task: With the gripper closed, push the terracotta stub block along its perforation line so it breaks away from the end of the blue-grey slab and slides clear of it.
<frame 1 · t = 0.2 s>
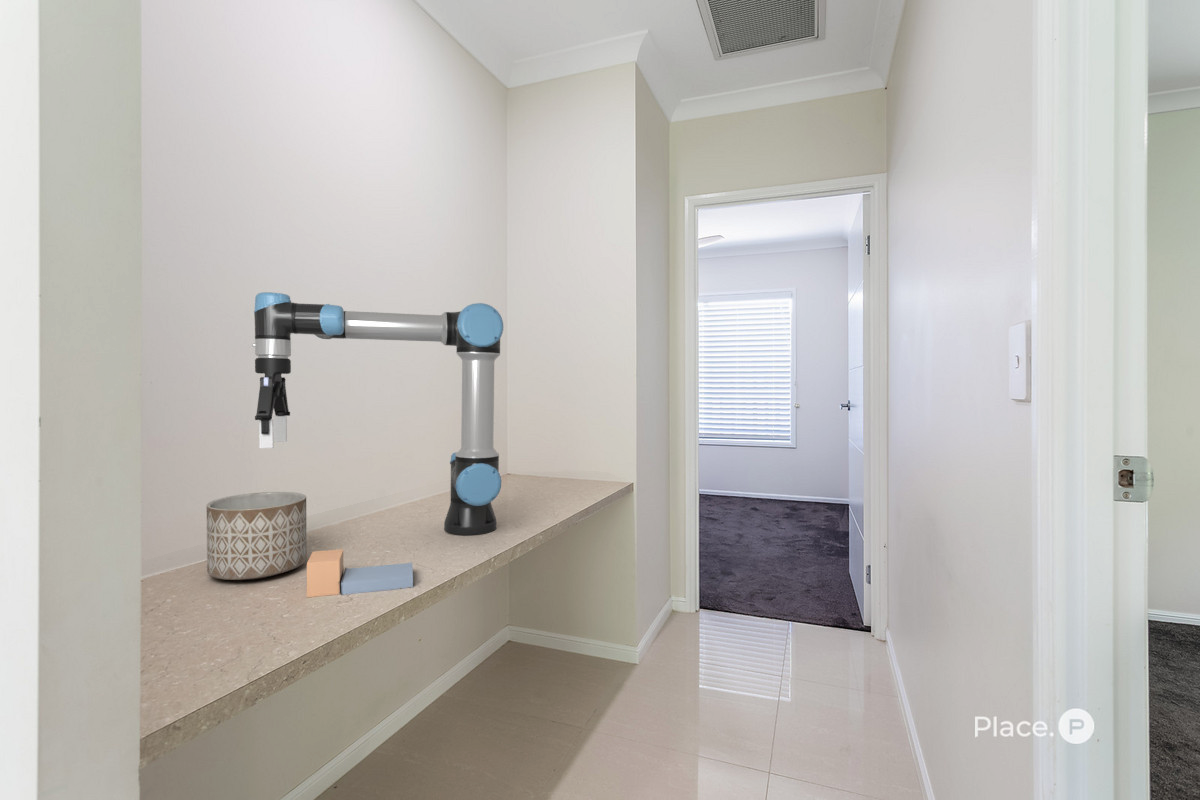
hand: (273, 444, 138), 28 cm above the countertop, fingers open, 13 cm apart
blue-grey slab: (378, 583, 122), on the countertop
stub: (325, 572, 118), point 4 cm above the countertop, slide at 0.0 cm
planter: (258, 572, 129), on the countertop
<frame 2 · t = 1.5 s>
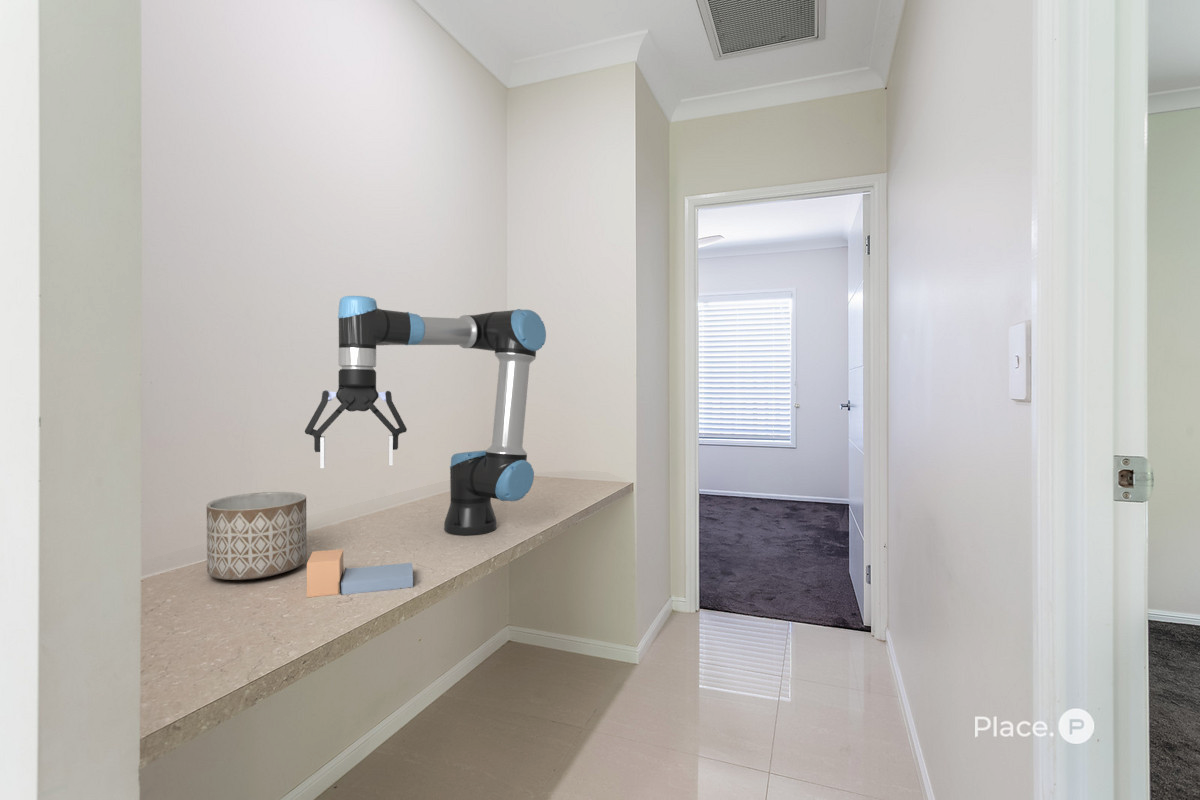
hand: (357, 466, 123), 25 cm above the countertop, fingers open, 13 cm apart
nothing on the countertop moved.
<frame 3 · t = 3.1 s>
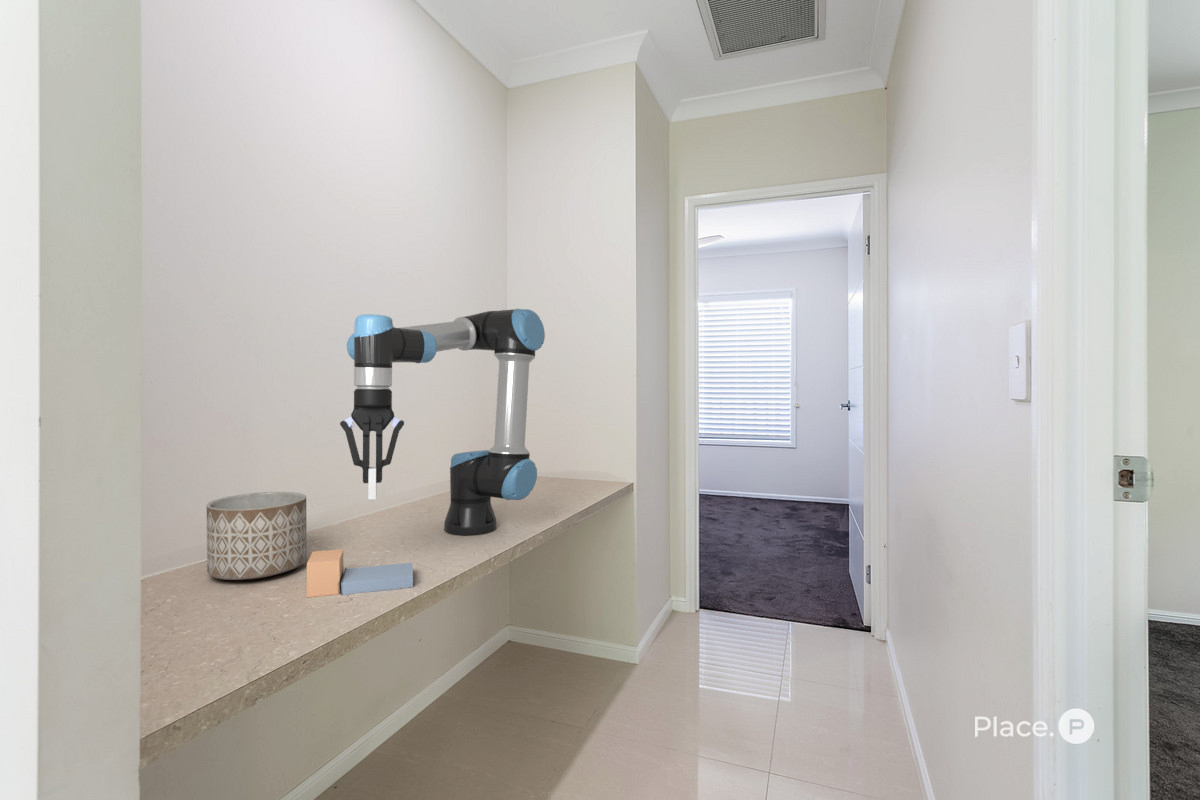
hand: (372, 498, 121), 19 cm above the countertop, fingers closed
nothing on the countertop moved.
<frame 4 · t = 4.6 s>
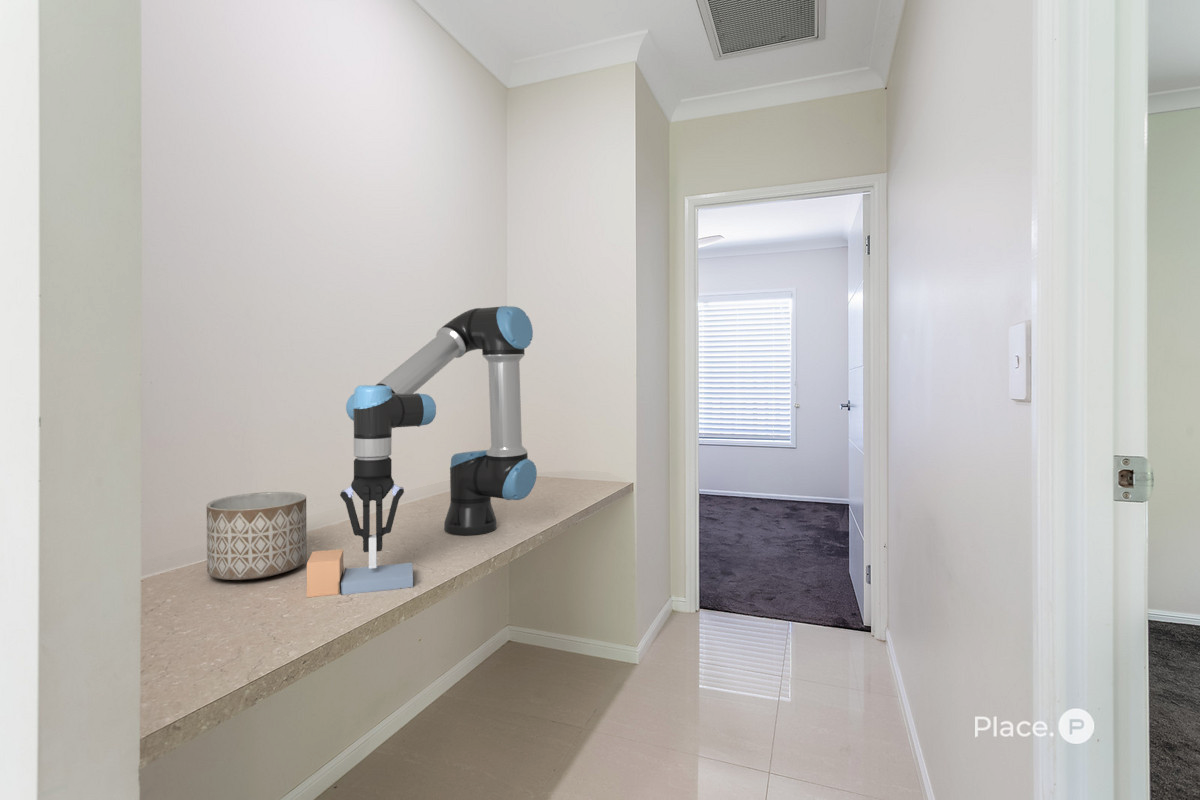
hand: (372, 566, 121), 4 cm above the countertop, fingers closed
nothing on the countertop moved.
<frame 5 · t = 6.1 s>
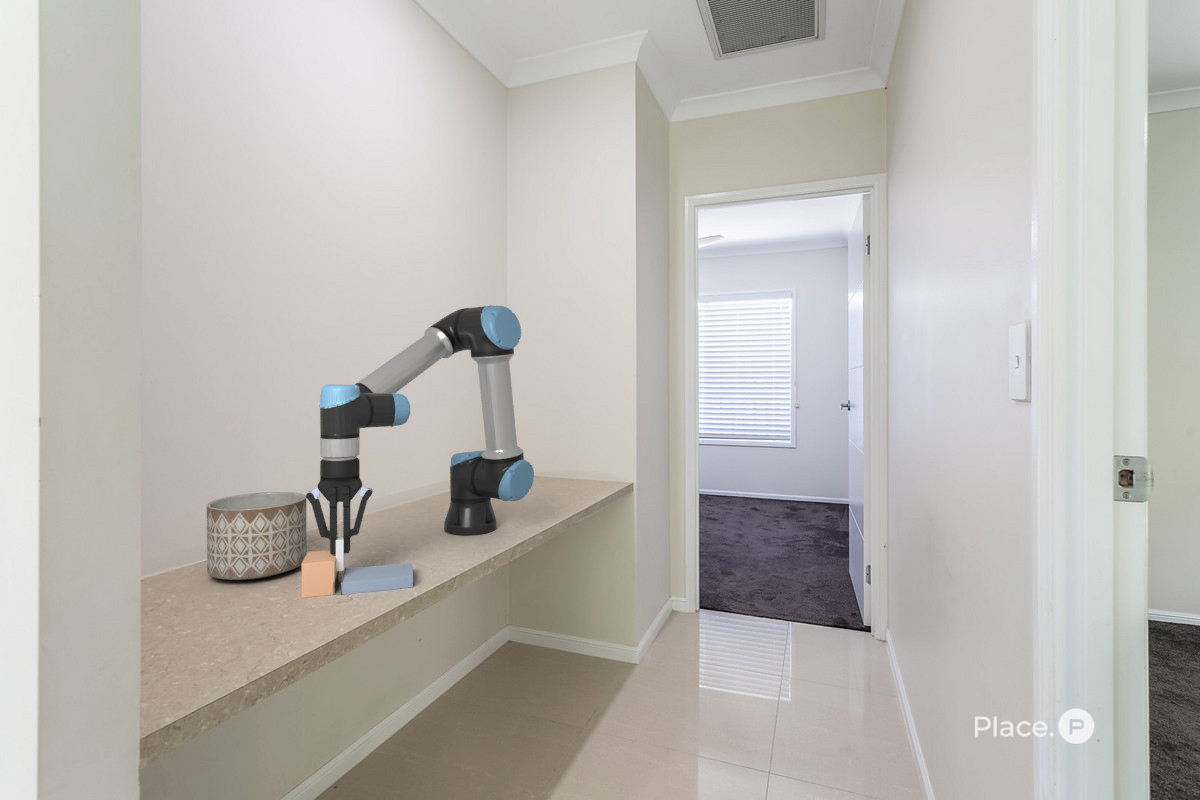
hand: (340, 568, 119), 4 cm above the countertop, fingers closed
stub: (320, 572, 118), point 3 cm above the countertop, slide at 1.0 cm, touching gripper
everything else where it was.
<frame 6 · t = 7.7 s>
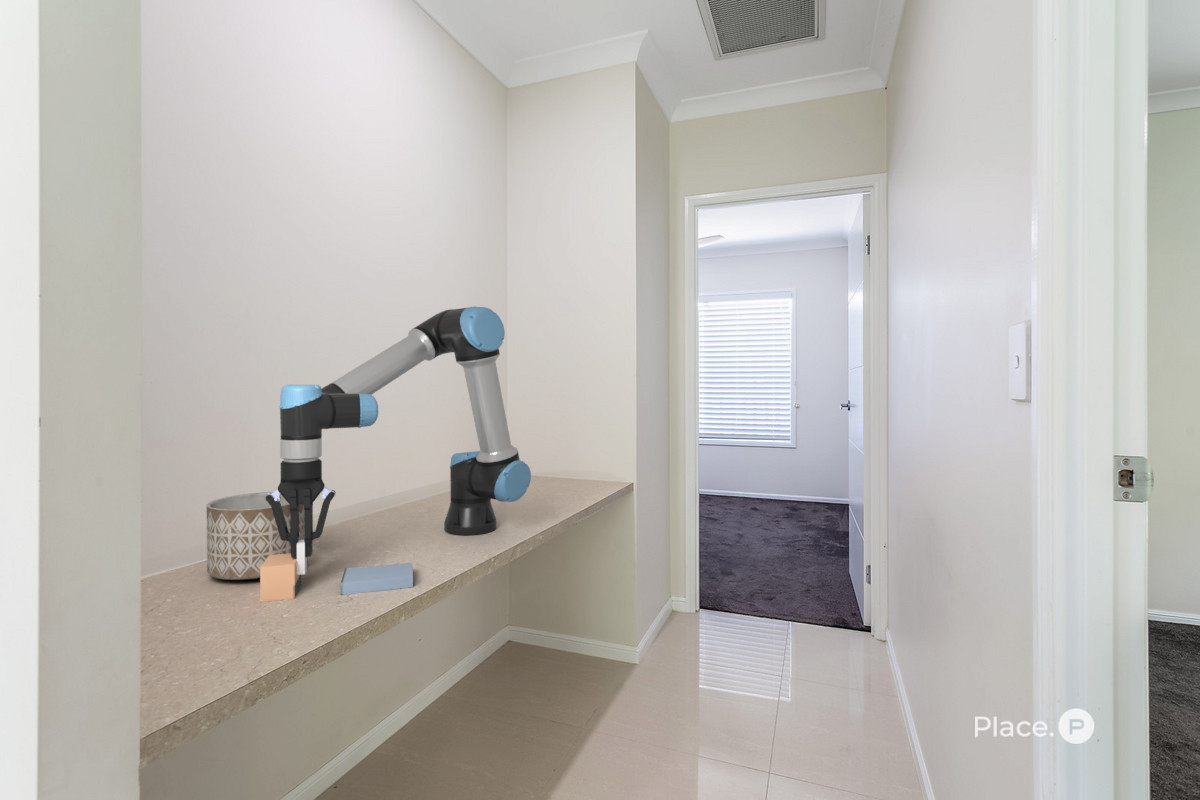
hand: (301, 572, 117), 4 cm above the countertop, fingers closed
stub: (281, 576, 116), point 4 cm above the countertop, slide at 8.2 cm, touching gripper
everything else where it was.
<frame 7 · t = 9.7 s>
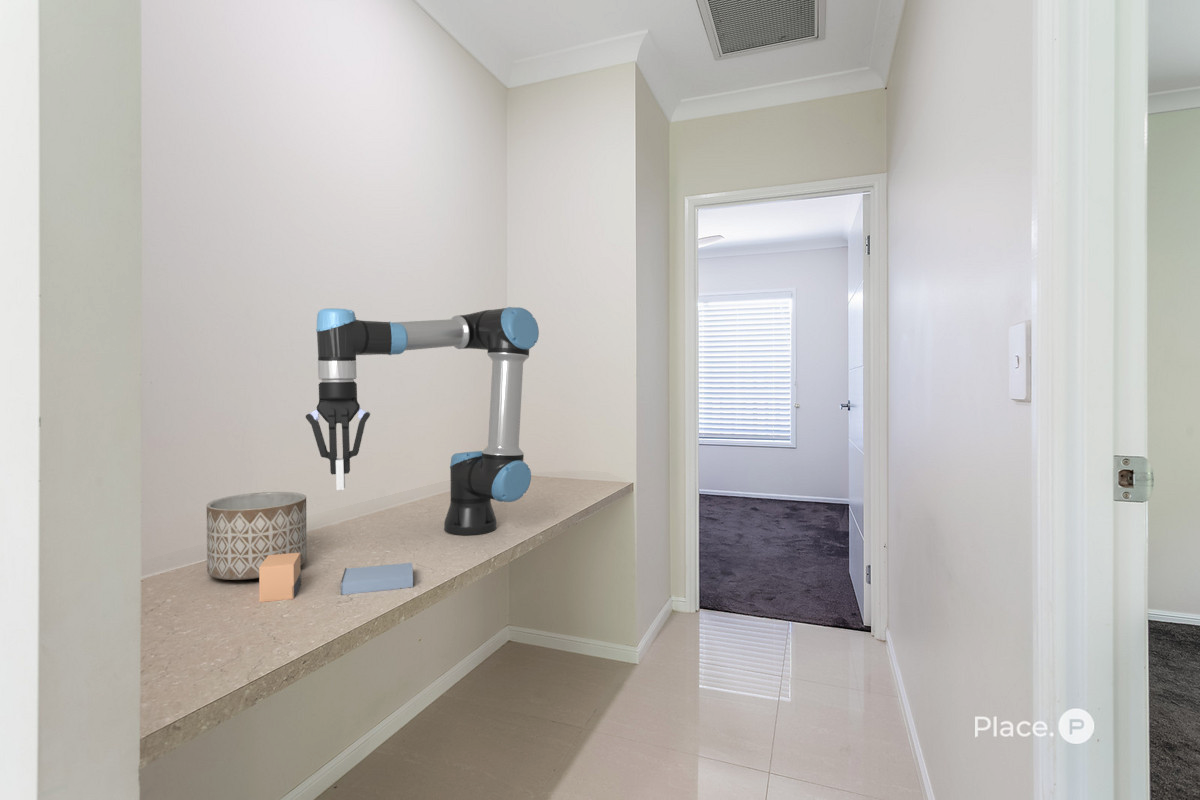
hand: (340, 488, 123), 20 cm above the countertop, fingers closed
stub: (280, 576, 116), point 4 cm above the countertop, slide at 8.4 cm
everything else where it was.
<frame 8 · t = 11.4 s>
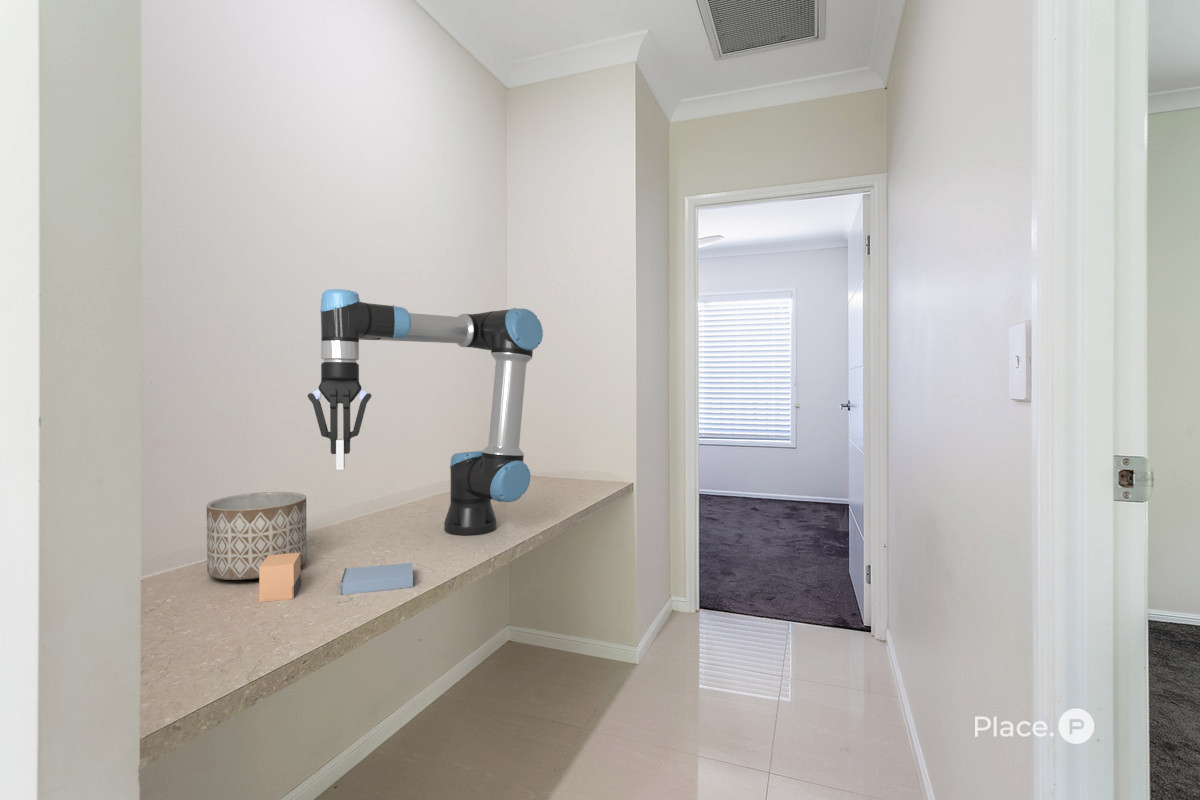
hand: (340, 468, 124), 24 cm above the countertop, fingers closed
nothing on the countertop moved.
at the end: stub slide at 8.4 cm; stub touching nothing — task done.
